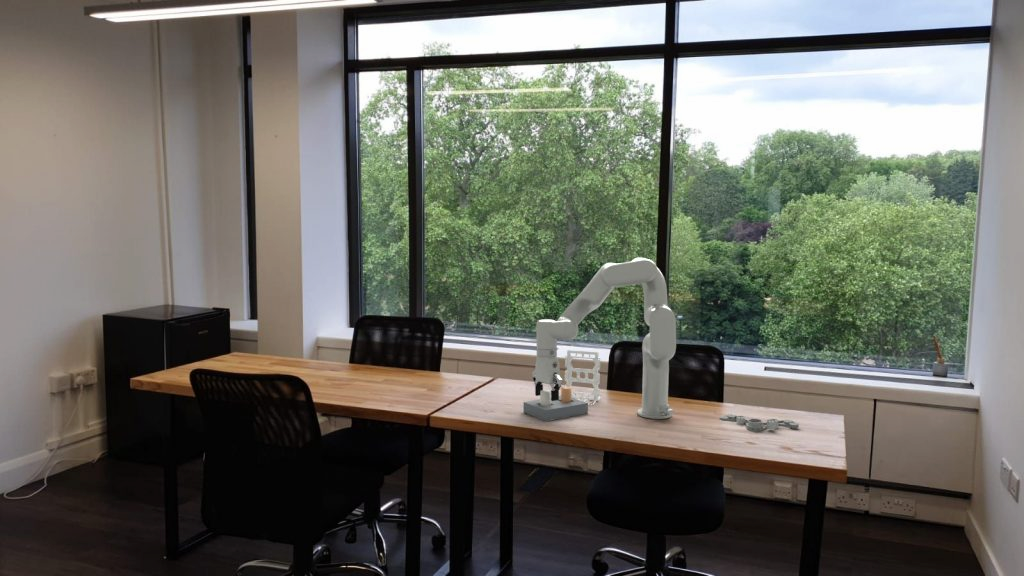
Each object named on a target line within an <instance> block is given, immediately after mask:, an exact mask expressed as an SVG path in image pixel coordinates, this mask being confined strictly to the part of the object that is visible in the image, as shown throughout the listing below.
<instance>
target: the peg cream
mask: <svg viewBox="0 0 1024 576" xmlns="http://www.w3.org/2000/svg"><path fill="white" fill-rule="evenodd" d="M539 397H540V398H539V399H540V405H541V406H544V407H545V406H551V390H550V389H543V390H541V391H540V395H539Z"/></svg>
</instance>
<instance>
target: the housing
mask: <svg viewBox="0 0 1024 576" xmlns="http://www.w3.org/2000/svg"><path fill="white" fill-rule="evenodd" d="M588 403H589V402H588V401H587V402H584V401H581V400H578V399H574V398H572V400H571V402H568V403H564V402H561V395H559V400H556V401H551V406H545V407H544V406H541V405H540V398H539V399H535V400H534V399H533V400H527V401H523V408H522V409H523V413H524V414H526V413H527V415H530V416H532V417H534V418H537V419H539V420H542V421H545V422H549V421H553V420H558V419H559V420H560V419H563V418H569V417H570V416H571V417H575V415H576V416H580V414H582V415H586V414H585V413H587V414H589V405H588Z"/></svg>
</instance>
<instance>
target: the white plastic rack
mask: <svg viewBox="0 0 1024 576" xmlns="http://www.w3.org/2000/svg"><path fill="white" fill-rule="evenodd" d="M572 354H575V355H574V356H573V355H572ZM599 354H600V353H599V352H598V351H597V352H596V351H583V350H582V351H581V350H571V349H569V350H567V351H566V355H565V356H564V357H565V358H564V359H565V360H564V367H566V370H564V382H566V384H564V387H571V388H572V384H573V382H574V383H584V384H585V383H586V384H592V386H593V388H594V389H593V391H591V392H592V393H591V392H589V393H587V392H580V391H572V398H574V399H578V400H584V402H585V401H586V400H596V401H597V402H600V401H601V399H602V398H601V396H600V387H599V385H600V381H601V379H600V377H601V373H600V372H599V370H601V358H600V357H599ZM578 355H581V356H578ZM585 355H588V357H587V356H585ZM591 355H594V357H591ZM574 358H575V359H586V360H587V359H588V360H592V361H593V363H594V366H593V367H592V368H591V369H590V368H578V367H577V368H576V367H574V366H573V365H572V361H573V359H574ZM572 372H573V373H576V377H573V376H572ZM581 373H583V374H584V378H581V376H580V375H581ZM589 374H592V375H593V377H592V379H591V378H590V379H589ZM577 395H580V396H577ZM584 395H587V396H586V397H585V396H584ZM590 396H593V397H590ZM596 401H595V402H596ZM595 402H594V403H595ZM597 402H596V403H597ZM594 403H593V405H592V404H591V405H590V406H594V405H595V404H596V403H595V404H594Z"/></svg>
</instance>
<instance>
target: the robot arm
mask: <svg viewBox="0 0 1024 576" xmlns="http://www.w3.org/2000/svg"><path fill="white" fill-rule="evenodd" d="M665 279H666V278H665V276H664V275H663V273H662V272H661V270H660V268H658V266H657V265H656V263H655V262H654V261H653V260H651V259H648V258H646V257H635V258H633V259H632V260H631V261H628V262H627V261H626V262H619V263H615V262H606V263H604V264H603V265H602V266H601V267H600V268H599V269H598V270H597V272H596V273H595V275H593V277H592V278H591V280H590V281H589V282H588V283H587V285H586V286H585V287H584V288H583V289H582V291H581V292H580V293H579V294H578V295H577V297H575V299H573V301H572V302H571V303H570V304H569V305H568V306H567V307H566V309H564V311H563V312H562V314H561V315H560V316H559V318H558V319H557V320H554V319H550V318H549V319H548V318H546V319H545V318H544V319H543V318H542V319H539V320H537V321H536V356H535V357H536V358H535V367H534V368H535V369H534V370H533V371H532V372H531V374H532V380H533V385H534V386H535V387H534V390H535V391H534V392H535V397H536V396H537V397H540V391H541V390H544V385H543V384H546V385H549V386H550V387H551V390H550V391H551V401H556V400H559V396H560V392H559V391H561V387H562V383H563V378H561V369H560V362H559V357H558V349H557V348H558V342H557V341H558V340H562V341H572V340H573V339H575V338H577V336H578V334H579V327H578V325H580V323H581V322H582V320H584V318H585V317H586V316H588V314H590V313H591V312H593V311H595V310H597V309H598V308H600V306H601V305H603V302H604V301H605V300H606V299H607V298H608V296H609V295H610V294H611V293H612V291H613V290H614V289H615V288H622V287H628V286H635V285H640V284H641V286H642V289H643V305H644V306H643V309H644V311H643V319H644V322H645V323H646V325H647V326H648V327H649V332H648V333H647V334H646V335H645V336H644V338H643V339H642V345H641V349H642V388H641V389H642V394H641V408H639V409H637V415H638V416H640V417H642V418H646V419H654V420H663V419H668V418H671V417H672V416H673V414H675V410H674V409H671V408H670V407H671V405H670V404H668V403H669V401H668V400H669V373H670V362H669V361H670V360H671V359H672V358H674V356H675V354H676V351H677V350H676V349H677V321H676V316H675V313H674V312H673V310H672V309H671V308H670V307H669V306H668V304H669V303H668V288H667V282H666V280H665Z"/></svg>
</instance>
